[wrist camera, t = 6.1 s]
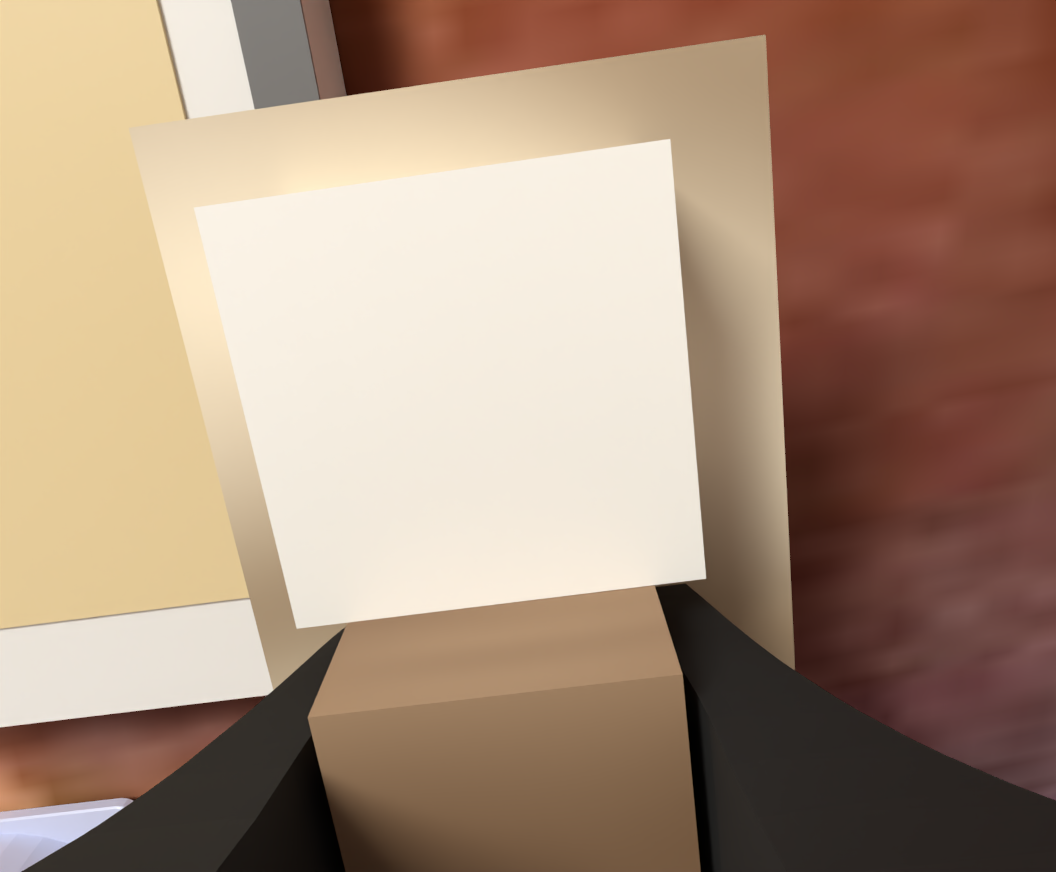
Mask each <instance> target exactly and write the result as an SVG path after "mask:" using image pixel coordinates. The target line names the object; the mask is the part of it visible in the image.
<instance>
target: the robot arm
mask: <svg viewBox="0 0 1056 872" xmlns="http://www.w3.org/2000/svg"><path fill="white" fill-rule="evenodd" d="M655 588H656V591H657V595H658V598H659V601H660V604H661V607H662V610H663V614H664V617H665V620H666V623H667V626H668V629H669V633H670V636H671V639H672V642H673V645H674V648H675V652H676V655H677V658H678V661H679V664H680V667H681V671H682V674H683V683H684V694H685V705H686V716H687V727H688V738H689V749H690V760H691V771H692V782H693V793H694V804H695V815H696V826H697V836H698V847H699V858H700V869H701V872H1056V801H1055V800H1052V799H1050V798H1047V797H1044V796H1042V795H1039V794H1036V793H1034V792H1031V791H1029V790H1026V789H1023V788H1021V787H1018V786H1016V785H1013V784H1011V783H1008V782H1006V781H1004V780H1001V779H999V778H997V777H994V776H992V775H990V774H987V773H985V772H983V771H980V770H978V769H976V768H973V767H971V766H969V765H966V764H964V763H962V762H959V761H957V760H955V759H953V758H950V757H948V756H946V755H944V754H941V753H939V752H937V751H935V750H933V749H931V748H929V747H927V746H925V745H923V744H920V743H918V742H916V741H914V740H912V739H910V738H908V737H907V736H905V735H903V734H901V733H899V732H897V731H895V730H893V729H892V728H890V727H888V726H886V725H884V724H882V723H880V722H878V721H877V720H875V719H873V718H871V717H869V716H867V715H865V714H863V713H862V712H860V711H858V710H856V709H855V708H853V707H851V706H850V705H848V704H846V703H844V702H843V701H841V700H839V699H838V698H836V697H834V696H833V695H831V694H830V693H828V692H827V691H825V690H824V689H822V688H821V687H819V686H817V685H816V684H814V683H813V682H811V681H810V680H808V679H807V678H805V677H804V676H802V675H801V674H799V673H798V672H796V671H795V670H793V669H792V668H790V667H789V666H787V665H786V664H785V663H783V662H782V661H780V660H779V659H778V658H776V657H775V656H774V655H772V654H771V653H770V652H768V651H767V650H766V649H764V648H763V647H762V646H760V645H759V644H758V643H756V642H755V641H754V640H753V639H751V638H750V637H749V636H748V635H746V634H745V633H744V632H743V631H741V630H740V629H739V628H738V627H737V626H735V625H734V624H733V623H732V622H731V621H729V620H728V619H727V618H726V617H725V616H723V615H722V614H721V613H720V612H719V611H718V610H716V609H715V608H714V607H713V606H712V605H711V604H709V603H708V602H707V601H706V600H705V599H704V598H703V597H701V596H700V595H699V594H698V593H697V592H695V591H694V590H693V589H692V588H690V587H689V586H688V585H687V584H678V585H669V586H661V587H655ZM344 630H345V628H343V629H342V630H341V631H339V632H338V633H337V634H336V635H335V636H333V637H332V638H331V639H330V640H329V641H328V642H327V643H325V644H324V645H323V646H322V647H321V648H320V649H319V650H318V651H316V652H315V653H314V654H313V655H312V656H311V657H310V658H309V659H308V660H306V661H305V662H304V663H303V664H302V665H301V666H300V667H299V668H298V669H297V670H295V671H294V672H293V673H292V674H291V675H290V676H289V677H288V678H287V679H285V680H284V681H283V682H282V683H281V684H280V685H279V686H278V687H276V688H275V689H274V690H273V691H272V692H271V693H270V694H269V695H267V696H266V697H265V698H264V699H263V700H262V701H261V702H260V703H258V704H257V705H256V706H255V707H254V708H253V709H252V710H250V711H249V712H248V713H247V714H246V715H244V716H243V717H242V718H241V719H240V720H238V721H237V722H236V723H235V724H233V725H232V726H231V727H230V728H229V729H227V730H226V731H225V732H224V733H222V734H221V735H220V736H219V737H217V738H216V739H215V740H214V741H213V742H211V743H210V744H209V745H208V746H206V747H205V748H204V749H203V750H202V751H200V752H199V753H198V754H197V755H195V756H194V757H193V758H192V759H190V760H189V761H188V762H187V763H185V764H184V765H183V766H182V767H180V768H179V769H178V770H176V771H175V772H174V773H172V774H171V775H170V776H168V777H167V778H165V779H164V780H163V781H161V782H160V783H159V784H157V785H156V786H154V787H153V788H152V789H150V790H149V791H148V792H146V793H145V794H143V795H142V796H140V797H139V798H137V799H136V800H134V801H133V800H131V799H128V798H117V799H109V800H100V801H91V802H83V803H74V804H65V805H57V806H48V807H39V808H31V809H22V810H13V811H5V812H0V872H346V871H345V867H344V863H343V859H342V855H341V851H340V847H339V843H338V839H337V835H336V831H335V827H334V823H333V819H332V815H331V811H330V807H329V802H328V798H327V794H326V790H325V786H324V782H323V778H322V774H321V770H320V766H319V762H318V758H317V754H316V750H315V746H314V742H313V738H312V733H311V729H310V725H309V721H308V715H309V713H310V711H311V708H312V706H313V704H314V701H315V699H316V696H317V694H318V692H319V689H320V687H321V684H322V682H323V680H324V677H325V675H326V673H327V670H328V668H329V665H330V663H331V661H332V658H333V656H334V654H335V651H336V649H337V646H338V644H339V642H340V639H341V637H342V635H343V632H344Z"/></svg>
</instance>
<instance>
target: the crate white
mask: <svg viewBox="0 0 1056 872" xmlns="http://www.w3.org/2000/svg"><path fill="white" fill-rule="evenodd" d="M194 211H195V215H196V219H197V223H198V227H199V232H200V236H201V240H202V244H203V248H204V252H205V256H206V260H207V264H208V268H209V272H210V276H211V281H212V285H213V289H214V293H215V297H216V301H217V305H218V309H219V313H220V317H221V321H222V326H223V330H224V334H225V338H226V342H227V346H228V350H229V354H230V358H231V362H232V366H233V370H234V375H235V379H236V383H237V387H238V391H239V395H240V399H241V403H242V407H243V411H244V415H245V420H246V424H247V428H248V432H249V436H250V440H251V444H252V448H253V452H254V456H255V460H256V465H257V469H258V473H259V477H260V481H261V485H262V489H263V493H264V497H265V501H266V505H267V509H268V514H269V518H270V522H271V526H272V530H273V534H274V538H275V542H276V546H277V550H278V554H279V559H280V563H281V567H282V571H283V575H284V579H285V583H286V587H287V591H288V595H289V599H290V604H291V608H292V612H293V616H294V620H295V624H296V628H297V629H299V628H307V627H316V626H324V625H332V624H340V623H348V622H356V621H365V620H373V619H381V618H389V617H397V616H406V615H414V614H422V613H430V612H438V611H447V610H455V609H463V608H471V607H479V606H488V605H496V604H504V603H512V602H520V601H528V600H537V599H545V598H553V597H561V596H569V595H578V594H586V593H594V592H602V591H610V590H619V589H627V588H635V587H643V586H651V585H660V584H668V583H676V582H684V581H692V580H700V579H706V570H705V558H704V546H703V534H702V521H701V509H700V497H699V485H698V472H697V460H696V448H695V436H694V423H693V411H692V399H691V387H690V374H689V362H688V350H687V338H686V325H685V313H684V301H683V289H682V276H681V264H680V252H679V240H678V227H677V215H676V203H675V191H674V178H673V166H672V154H671V142H670V139H666V140H659V141H652V142H645V143H638V144H631V145H624V146H617V147H610V148H603V149H596V150H589V151H582V152H575V153H569V154H562V155H555V156H548V157H541V158H534V159H527V160H520V161H513V162H506V163H499V164H492V165H485V166H478V167H471V168H464V169H458V170H451V171H444V172H437V173H430V174H423V175H416V176H409V177H402V178H395V179H388V180H381V181H374V182H367V183H360V184H353V185H347V186H340V187H333V188H326V189H319V190H312V191H305V192H298V193H291V194H284V195H277V196H270V197H263V198H256V199H249V200H242V201H236V202H229V203H222V204H215V205H208V206H201V207H194Z"/></svg>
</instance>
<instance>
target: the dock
mask: <svg viewBox="0 0 1056 872" xmlns="http://www.w3.org/2000/svg"><path fill="white" fill-rule="evenodd" d="M343 96H347V95H346V90H345V85H344V79H343V74H342V69H341V63H340V58H339V53H338V47H337V42H336V37H335V31H334V26H333V21H332V15H331V10H330V5H329V0H0V727H7V726H15V725H24V724H32V723H40V722H49V721H57V720H65V719H74V718H82V717H90V716H99V715H107V714H115V713H124V712H132V711H140V710H149V709H157V708H165V707H173V706H182V705H190V704H198V703H207V702H215V701H223V700H232V699H240V698H248V697H257V696H265V695H269V694H270V693H271V692H272V691H273V687H272V683H271V679H270V675H269V671H268V668H267V664H266V660H265V656H264V652H263V648H262V644H261V640H260V636H259V633H258V629H257V625H256V621H255V617H254V613H253V609H252V605H251V602H250V598H249V594H248V590H247V586H246V582H245V578H244V574H243V570H242V567H241V563H240V559H239V555H238V551H237V547H236V543H235V539H234V535H233V532H232V528H231V524H230V520H229V516H228V512H227V508H226V504H225V501H224V497H223V493H222V489H221V485H220V481H219V477H218V473H217V469H216V466H215V462H214V458H213V454H212V450H211V446H210V442H209V438H208V435H207V431H206V427H205V423H204V419H203V415H202V411H201V407H200V403H199V400H198V396H197V392H196V388H195V384H194V380H193V376H192V372H191V368H190V365H189V361H188V357H187V353H186V349H185V345H184V341H183V337H182V334H181V330H180V326H179V322H178V318H177V314H176V310H175V306H174V302H173V299H172V295H171V291H170V287H169V283H168V279H167V275H166V271H165V268H164V264H163V260H162V256H161V252H160V248H159V244H158V240H157V236H156V233H155V229H154V225H153V221H152V217H151V213H150V209H149V205H148V201H147V198H146V194H145V190H144V186H143V182H142V178H141V174H140V170H139V167H138V163H137V159H136V155H135V151H134V147H133V143H132V139H131V135H130V132H129V128H131V127H138V126H145V125H151V124H158V123H165V122H172V121H179V120H186V119H193V118H199V117H206V116H213V115H220V114H227V113H234V112H240V111H247V110H254V109H261V108H268V107H275V106H282V105H288V104H295V103H302V102H309V101H316V100H323V99H329V98H336V97H343Z"/></svg>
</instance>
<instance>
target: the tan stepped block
mask: <svg viewBox="0 0 1056 872" xmlns="http://www.w3.org/2000/svg"><path fill="white" fill-rule="evenodd" d="M129 132H130V135H131V139H132V143H133V147H134V151H135V155H136V159H137V163H138V167H139V170H140V174H141V178H142V182H143V186H144V190H145V194H146V198H147V201H148V205H149V209H150V213H151V217H152V221H153V225H154V229H155V233H156V236H157V240H158V244H159V248H160V252H161V256H162V260H163V264H164V268H165V271H166V275H167V279H168V283H169V287H170V291H171V295H172V299H173V302H174V306H175V310H176V314H177V318H178V322H179V326H180V330H181V334H182V337H183V341H184V345H185V349H186V353H187V357H188V361H189V365H190V368H191V372H192V376H193V380H194V384H195V388H196V392H197V396H198V400H199V403H200V407H201V411H202V415H203V419H204V423H205V427H206V431H207V435H208V438H209V442H210V446H211V450H212V454H213V458H214V462H215V466H216V469H217V473H218V477H219V481H220V485H221V489H222V493H223V497H224V501H225V504H226V508H227V512H228V516H229V520H230V524H231V528H232V532H233V535H234V539H235V543H236V547H237V551H238V555H239V559H240V563H241V567H242V570H243V574H244V578H245V582H246V586H247V590H248V594H249V598H250V602H251V605H252V609H253V613H254V617H255V621H256V625H257V629H258V633H259V636H260V640H261V644H262V648H263V652H264V656H265V660H266V664H267V668H268V671H269V675H270V679H271V683H272V687H273V690H274V689H275V688H276V687H278V686H279V685H280V684H281V683H282V682H283V681H284V680H285V679H287V678H288V677H289V676H290V675H291V674H292V673H293V672H294V671H295V670H297V669H298V668H299V667H300V666H301V665H302V664H303V663H304V662H305V661H306V660H308V659H309V658H310V657H311V656H312V655H313V654H314V653H315V652H316V651H318V650H319V649H320V648H321V647H322V646H323V645H324V644H325V643H327V642H328V641H329V640H330V639H331V638H332V637H333V636H335V635H336V634H337V633H338V632H339V631H341V630H342V629H343V628H345V630H344V632H343V635H342V637H341V639H340V642H339V644H338V646H337V649H336V651H335V654H334V656H333V658H332V661H331V663H330V665H329V668H328V670H327V673H326V675H325V677H324V680H323V682H322V684H321V687H320V689H319V692H318V694H317V696H316V699H315V701H314V704H313V706H312V708H311V711H310V713H309V715H308V721H309V725H310V729H311V733H312V738H313V742H314V746H315V750H316V754H317V758H318V762H319V766H320V770H321V774H322V778H323V782H324V786H325V790H326V794H327V798H328V802H329V807H330V811H331V815H332V819H333V823H334V827H335V831H336V835H337V839H338V843H339V847H340V851H341V855H342V859H343V863H344V867H345V871H346V872H701V869H700V858H699V847H698V836H697V826H696V815H695V804H694V793H693V782H692V771H691V760H690V749H689V738H688V727H687V716H686V705H685V694H684V683H683V674H682V671H681V667H680V664H679V661H678V658H677V655H676V652H675V648H674V645H673V642H672V639H671V636H670V633H669V629H668V626H667V623H666V620H665V617H664V614H663V610H662V607H661V604H660V601H659V598H658V595H657V591H656V588H655V587H661V586H669V585H678V584H687V585H688V586H689V587H690V588H692V589H693V590H694V591H695V592H697V593H698V594H699V595H700V596H701V597H703V598H704V599H705V600H706V601H707V602H708V603H709V604H711V605H712V606H713V607H714V608H715V609H716V610H718V611H719V612H720V613H721V614H722V615H723V616H725V617H726V618H727V619H728V620H729V621H731V622H732V623H733V624H734V625H735V626H737V627H738V628H739V629H740V630H741V631H743V632H744V633H745V634H746V635H748V636H749V637H750V638H751V639H753V640H754V641H755V642H756V643H758V644H759V645H760V646H762V647H763V648H764V649H766V650H767V651H768V652H770V653H771V654H772V655H774V656H775V657H776V658H778V659H779V660H780V661H782V662H783V663H785V664H786V665H787V666H789V667H790V668H792V669H793V670H795V657H794V636H793V614H792V593H791V571H790V549H789V528H788V506H787V485H786V463H785V441H784V420H783V398H782V377H781V355H780V334H779V312H778V290H777V269H776V247H775V226H774V204H773V182H772V161H771V139H770V118H769V96H768V74H767V53H766V35H761V36H754V37H747V38H740V39H733V40H726V41H720V42H713V43H706V44H699V45H692V46H685V47H678V48H672V49H665V50H658V51H651V52H644V53H637V54H631V55H624V56H617V57H610V58H603V59H596V60H589V61H583V62H576V63H569V64H562V65H555V66H548V67H542V68H535V69H528V70H521V71H514V72H507V73H501V74H494V75H487V76H480V77H473V78H466V79H459V80H453V81H446V82H439V83H432V84H425V85H418V86H412V87H405V88H398V89H391V90H384V91H377V92H370V93H364V94H357V95H350V96H343V97H336V98H329V99H323V100H316V101H309V102H302V103H295V104H288V105H282V106H275V107H268V108H261V109H254V110H247V111H240V112H234V113H227V114H220V115H213V116H206V117H199V118H193V119H186V120H179V121H172V122H165V123H158V124H151V125H145V126H138V127H131V128H129ZM666 139H670V142H671V154H672V166H673V178H674V191H675V203H676V215H677V227H678V240H679V252H680V264H681V276H682V289H683V301H684V313H685V325H686V338H687V350H688V362H689V374H690V387H691V399H692V411H693V423H694V436H695V448H696V460H697V472H698V485H699V497H700V509H701V521H702V534H703V546H704V558H705V570H706V579H700V580H692V581H684V582H676V583H668V584H660V585H651V586H643V587H635V588H627V589H619V590H610V591H602V592H594V593H586V594H578V595H569V596H561V597H553V598H545V599H537V600H528V601H520V602H512V603H504V604H496V605H488V606H479V607H471V608H463V609H455V610H447V611H438V612H430V613H422V614H414V615H406V616H397V617H389V618H381V619H373V620H365V621H356V622H348V623H340V624H332V625H324V626H316V627H307V628H299V629H297V628H296V624H295V620H294V616H293V612H292V608H291V604H290V599H289V595H288V591H287V587H286V583H285V579H284V575H283V571H282V567H281V563H280V559H279V554H278V550H277V546H276V542H275V538H274V534H273V530H272V526H271V522H270V518H269V514H268V509H267V505H266V501H265V497H264V493H263V489H262V485H261V481H260V477H259V473H258V469H257V465H256V460H255V456H254V452H253V448H252V444H251V440H250V436H249V432H248V428H247V424H246V420H245V415H244V411H243V407H242V403H241V399H240V395H239V391H238V387H237V383H236V379H235V375H234V370H233V366H232V362H231V358H230V354H229V350H228V346H227V342H226V338H225V334H224V330H223V326H222V321H221V317H220V313H219V309H218V305H217V301H216V297H215V293H214V289H213V285H212V281H211V276H210V272H209V268H208V264H207V260H206V256H205V252H204V248H203V244H202V240H201V236H200V232H199V227H198V223H197V219H196V215H195V211H194V207H201V206H208V205H215V204H222V203H229V202H236V201H242V200H249V199H256V198H263V197H270V196H277V195H284V194H291V193H298V192H305V191H312V190H319V189H326V188H333V187H340V186H347V185H353V184H360V183H367V182H374V181H381V180H388V179H395V178H402V177H409V176H416V175H423V174H430V173H437V172H444V171H451V170H458V169H464V168H471V167H478V166H485V165H492V164H499V163H506V162H513V161H520V160H527V159H534V158H541V157H548V156H555V155H562V154H569V153H575V152H582V151H589V150H596V149H603V148H610V147H617V146H624V145H631V144H638V143H645V142H652V141H659V140H666Z"/></svg>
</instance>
